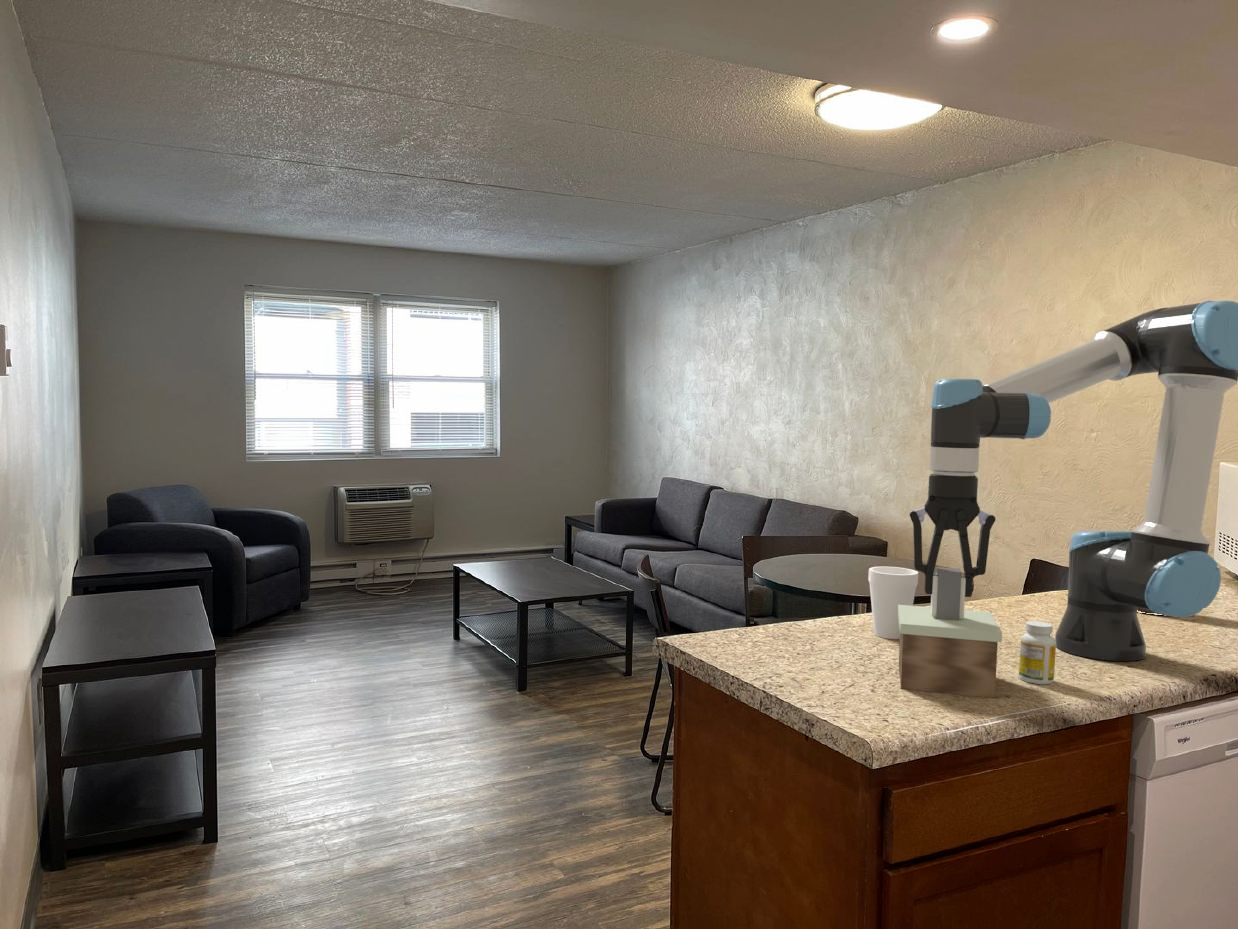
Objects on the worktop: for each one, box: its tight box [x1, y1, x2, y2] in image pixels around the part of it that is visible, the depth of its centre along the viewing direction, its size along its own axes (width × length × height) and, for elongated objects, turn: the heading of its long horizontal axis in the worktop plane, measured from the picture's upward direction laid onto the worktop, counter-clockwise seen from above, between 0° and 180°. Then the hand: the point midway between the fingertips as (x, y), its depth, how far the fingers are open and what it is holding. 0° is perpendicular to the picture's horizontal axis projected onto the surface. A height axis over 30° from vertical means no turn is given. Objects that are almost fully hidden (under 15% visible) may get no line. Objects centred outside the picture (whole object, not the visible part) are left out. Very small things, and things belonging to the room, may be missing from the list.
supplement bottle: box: [1018, 620, 1057, 685], centre depth 148 cm, size 5×5×10 cm
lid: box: [898, 566, 1003, 643], centre depth 145 cm, size 15×15×10 cm
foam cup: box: [867, 566, 919, 640], centre depth 176 cm, size 10×9×13 cm
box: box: [898, 634, 999, 699], centre depth 146 cm, size 14×14×9 cm
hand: (947, 614), depth 146 cm, fingers closed on lid, 3 cm apart
